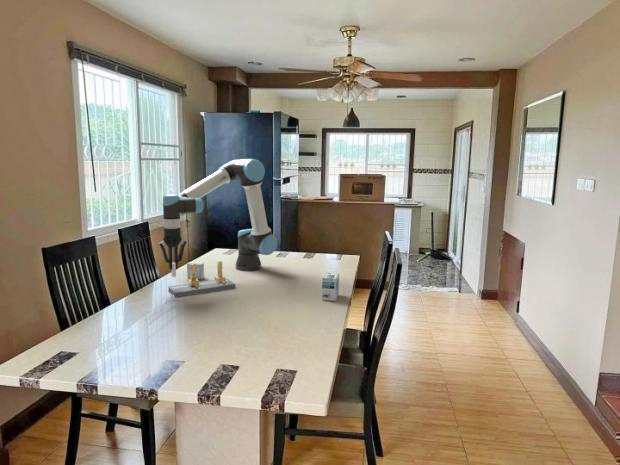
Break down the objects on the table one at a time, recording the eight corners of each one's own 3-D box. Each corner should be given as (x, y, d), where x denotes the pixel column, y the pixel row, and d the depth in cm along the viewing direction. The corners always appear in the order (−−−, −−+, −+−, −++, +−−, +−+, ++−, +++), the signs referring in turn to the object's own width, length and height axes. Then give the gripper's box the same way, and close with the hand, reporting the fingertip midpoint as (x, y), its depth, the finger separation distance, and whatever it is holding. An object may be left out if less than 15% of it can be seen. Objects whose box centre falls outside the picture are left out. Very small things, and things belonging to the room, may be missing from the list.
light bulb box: (335, 301, 202) (336, 278, 200) (321, 300, 203) (321, 277, 201) (339, 294, 212) (339, 272, 211) (325, 293, 214) (325, 272, 212)
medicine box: (204, 277, 238) (204, 262, 237) (201, 280, 234) (201, 264, 232) (190, 277, 239) (189, 261, 238) (187, 279, 235) (186, 263, 233)
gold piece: (196, 282, 221) (195, 262, 219) (201, 287, 213) (201, 266, 211) (188, 283, 219) (187, 263, 217) (193, 288, 211) (192, 267, 209)
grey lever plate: (226, 281, 231) (226, 258, 229) (235, 287, 221) (235, 263, 219) (168, 290, 215) (167, 265, 213) (174, 297, 205) (173, 271, 203)
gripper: (159, 229, 201) (161, 279, 205) (188, 227, 208) (189, 276, 212) (155, 227, 207) (157, 275, 211) (183, 225, 214) (184, 272, 218)
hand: (173, 276), depth 212 cm, fingers closed
